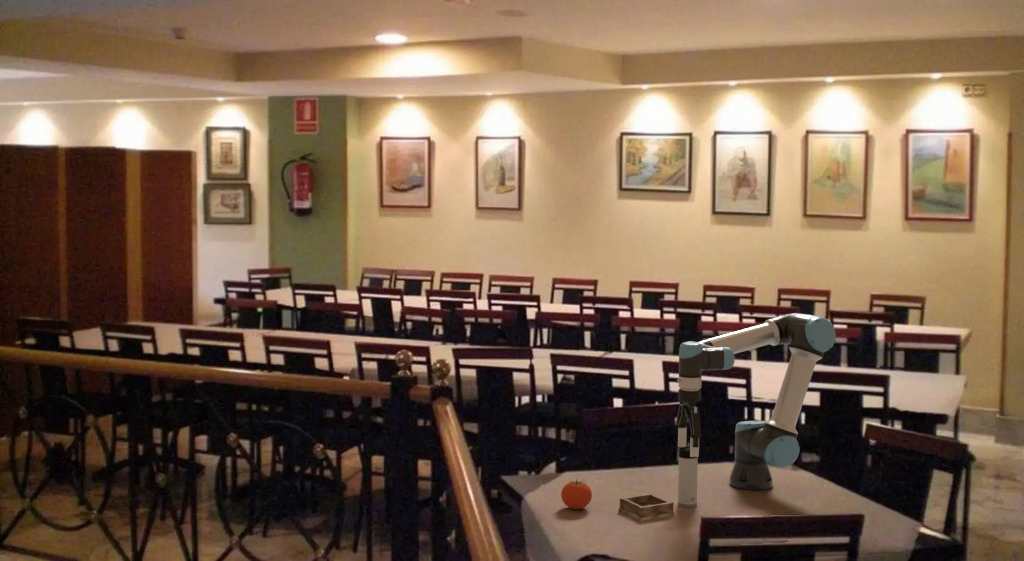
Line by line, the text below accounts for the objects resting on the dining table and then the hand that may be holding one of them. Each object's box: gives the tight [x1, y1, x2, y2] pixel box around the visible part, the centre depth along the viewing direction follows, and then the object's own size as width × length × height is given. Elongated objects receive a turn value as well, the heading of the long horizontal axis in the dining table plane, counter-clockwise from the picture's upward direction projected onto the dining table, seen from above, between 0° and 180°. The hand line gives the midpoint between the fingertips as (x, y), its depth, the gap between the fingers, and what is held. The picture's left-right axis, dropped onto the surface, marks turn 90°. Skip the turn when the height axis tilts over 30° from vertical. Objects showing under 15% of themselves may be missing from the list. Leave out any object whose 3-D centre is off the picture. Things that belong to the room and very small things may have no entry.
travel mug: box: [677, 445, 699, 509], centre depth 350 cm, size 6×7×20 cm
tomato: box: [560, 478, 593, 510], centre depth 347 cm, size 10×10×10 cm
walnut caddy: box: [618, 493, 675, 522], centre depth 343 cm, size 13×13×4 cm
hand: (688, 451), depth 350 cm, fingers open, 13 cm apart
